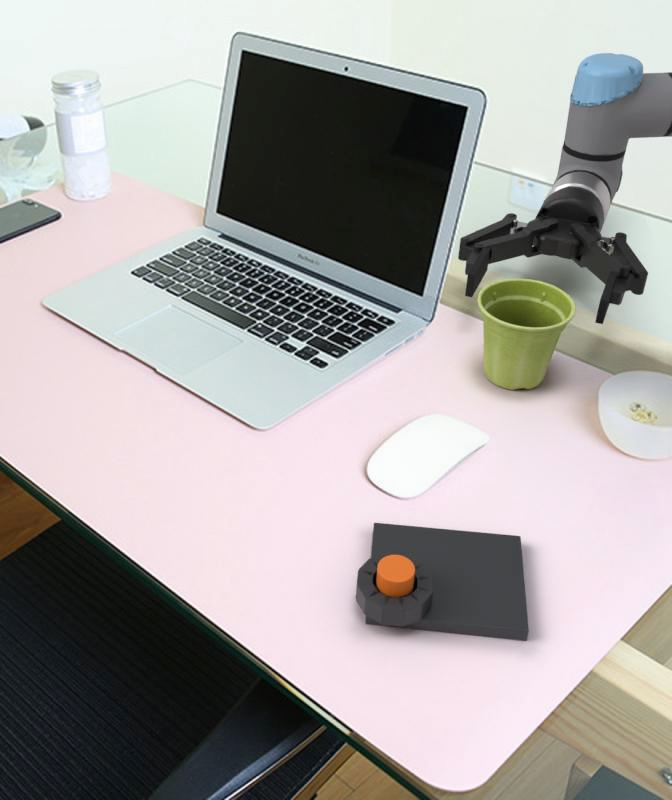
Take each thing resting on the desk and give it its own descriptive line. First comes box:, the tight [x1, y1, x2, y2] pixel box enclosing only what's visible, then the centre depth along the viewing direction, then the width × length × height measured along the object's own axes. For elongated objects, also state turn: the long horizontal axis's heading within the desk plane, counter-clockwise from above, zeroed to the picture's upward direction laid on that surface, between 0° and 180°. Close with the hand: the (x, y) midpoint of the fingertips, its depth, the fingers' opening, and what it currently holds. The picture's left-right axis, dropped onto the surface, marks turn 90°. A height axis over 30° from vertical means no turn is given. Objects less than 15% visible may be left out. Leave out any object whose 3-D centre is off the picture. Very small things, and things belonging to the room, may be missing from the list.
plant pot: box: [477, 278, 576, 391], centre depth 96 cm, size 9×9×9 cm
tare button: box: [376, 555, 415, 598], centre depth 72 cm, size 3×3×2 cm
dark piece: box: [355, 522, 530, 642], centre depth 74 cm, size 13×11×3 cm
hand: (534, 298), depth 99 cm, fingers open, 13 cm apart
